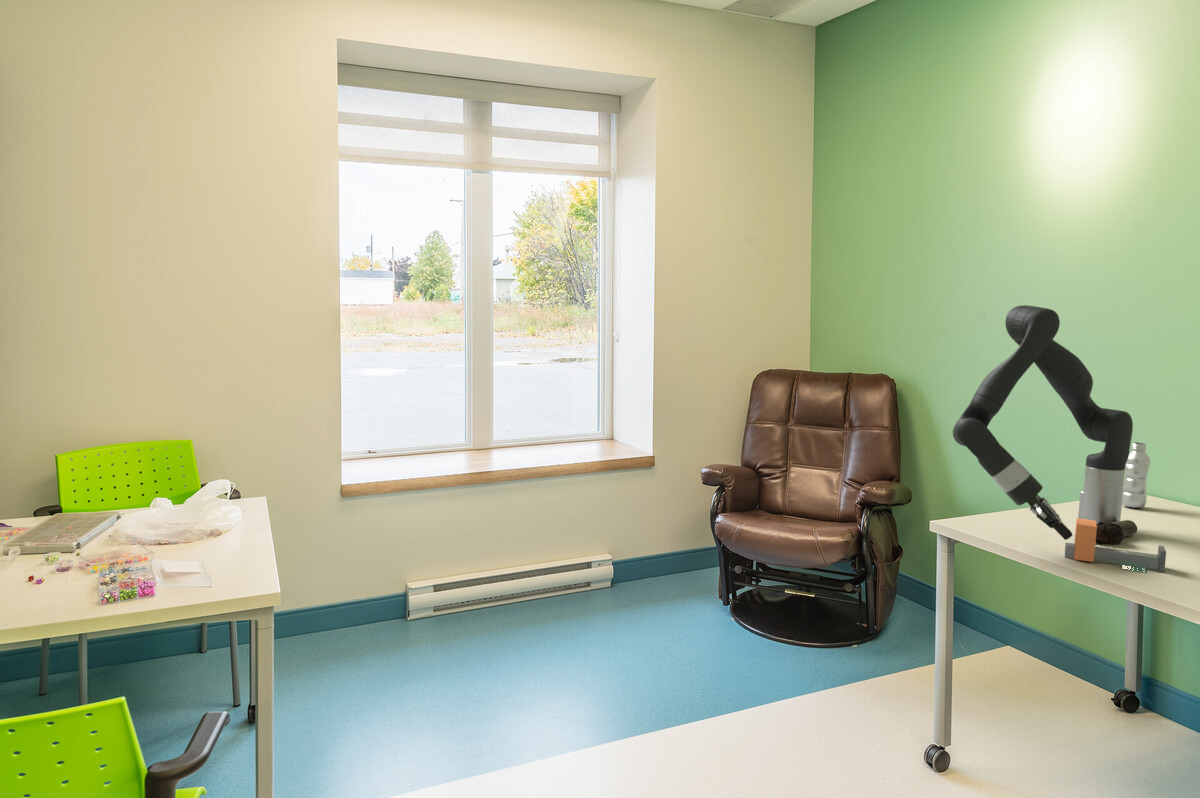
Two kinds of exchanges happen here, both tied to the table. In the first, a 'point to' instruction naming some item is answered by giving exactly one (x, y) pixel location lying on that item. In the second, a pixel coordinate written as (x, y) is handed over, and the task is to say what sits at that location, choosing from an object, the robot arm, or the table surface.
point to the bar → (1125, 557)
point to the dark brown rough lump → (1114, 531)
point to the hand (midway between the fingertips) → (1069, 537)
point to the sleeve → (1085, 539)
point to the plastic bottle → (1136, 476)
